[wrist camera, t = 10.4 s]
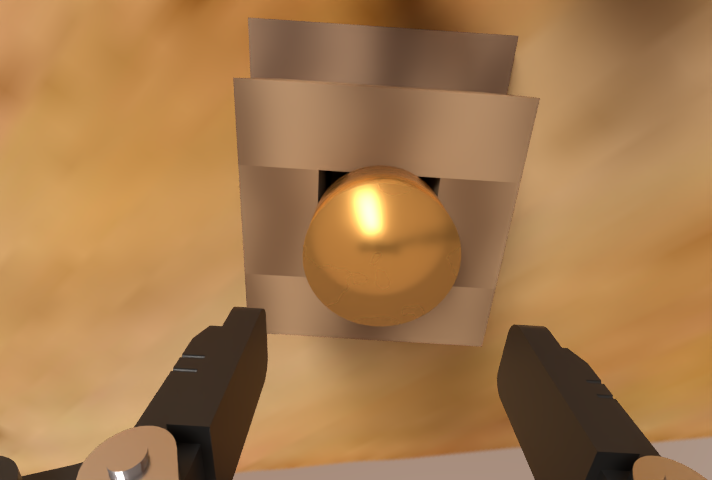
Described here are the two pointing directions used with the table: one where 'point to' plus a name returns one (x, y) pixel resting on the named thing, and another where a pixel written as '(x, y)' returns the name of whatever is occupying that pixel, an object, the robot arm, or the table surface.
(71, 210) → the table surface
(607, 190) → the table surface
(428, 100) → the hitch block
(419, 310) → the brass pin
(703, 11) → the table surface
